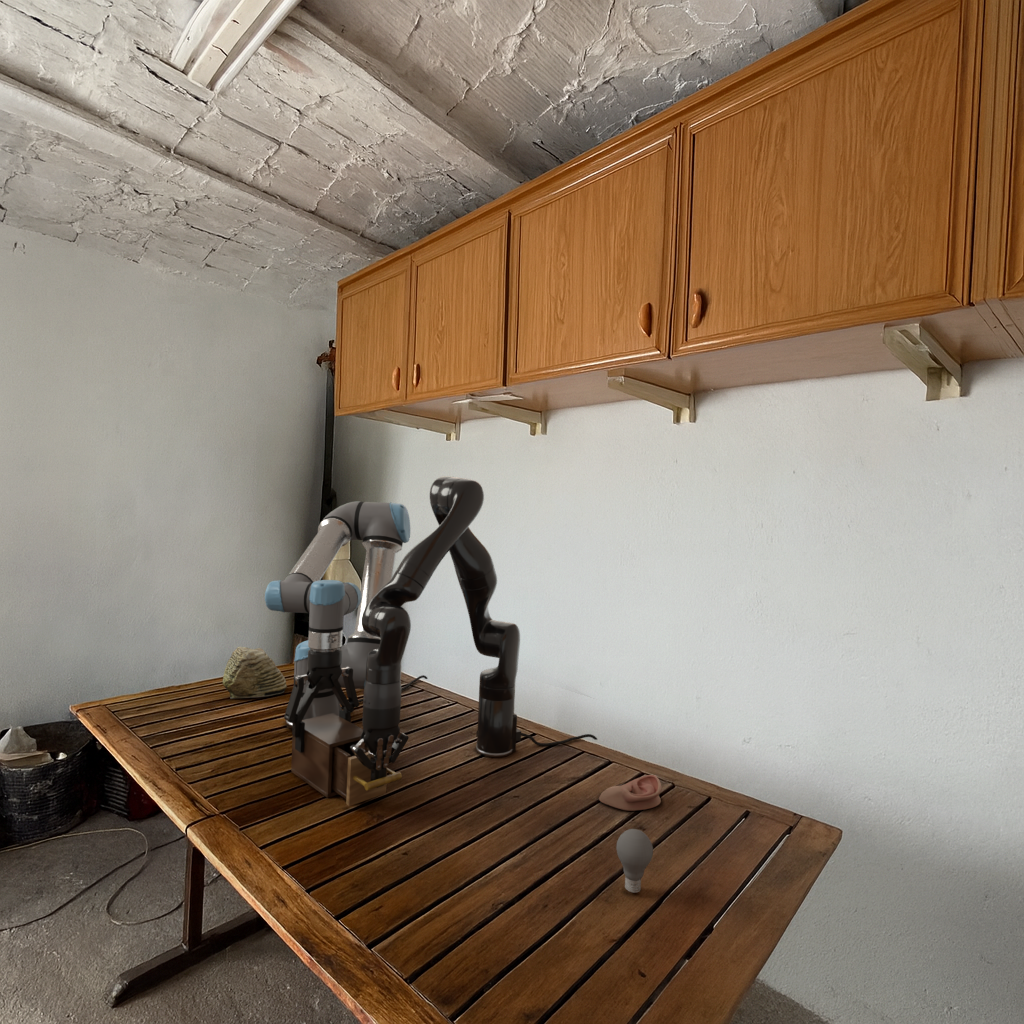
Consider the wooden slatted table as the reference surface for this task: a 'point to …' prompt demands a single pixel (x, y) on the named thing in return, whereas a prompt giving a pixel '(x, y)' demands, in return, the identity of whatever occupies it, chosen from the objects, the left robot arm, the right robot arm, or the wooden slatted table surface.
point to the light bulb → (634, 857)
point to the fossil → (252, 674)
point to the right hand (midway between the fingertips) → (378, 785)
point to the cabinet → (322, 750)
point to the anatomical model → (634, 794)
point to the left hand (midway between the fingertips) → (321, 744)
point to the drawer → (356, 776)
